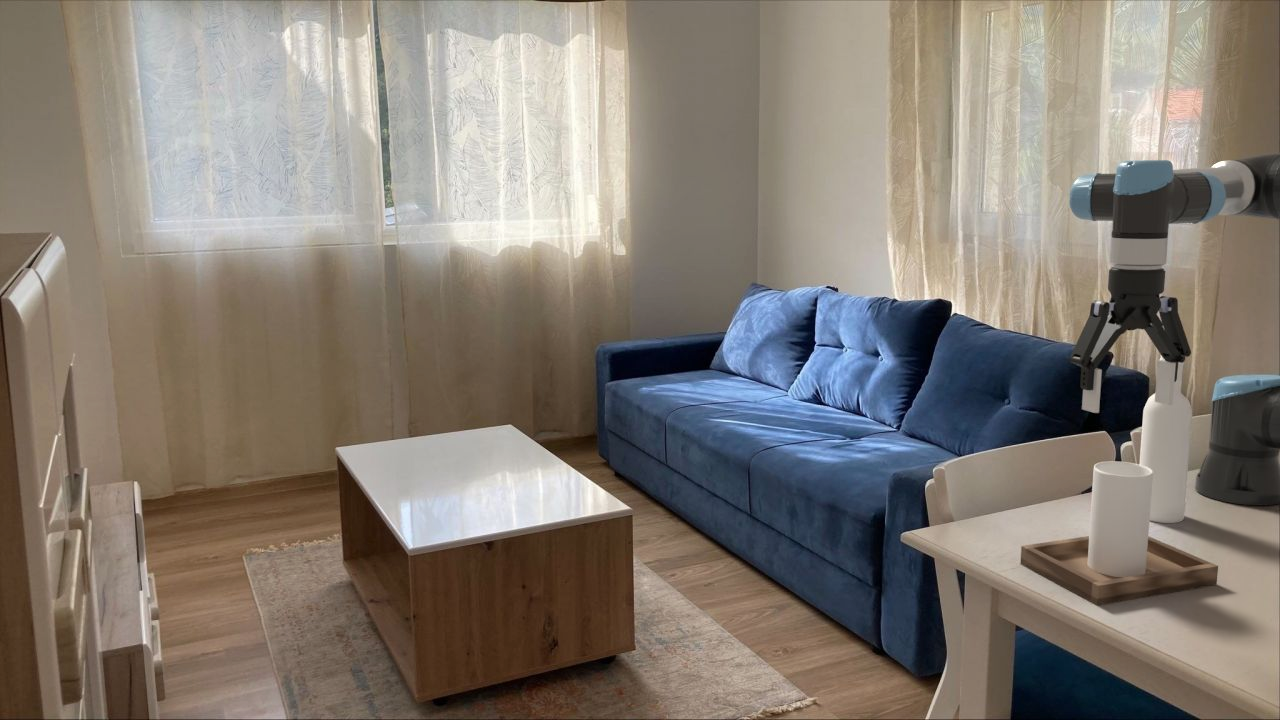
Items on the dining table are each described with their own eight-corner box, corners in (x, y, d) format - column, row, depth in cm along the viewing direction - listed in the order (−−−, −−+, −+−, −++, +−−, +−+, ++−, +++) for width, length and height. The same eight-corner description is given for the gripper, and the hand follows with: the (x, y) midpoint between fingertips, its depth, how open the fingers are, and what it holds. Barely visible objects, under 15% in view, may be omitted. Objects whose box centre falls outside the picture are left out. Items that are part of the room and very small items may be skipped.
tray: (1131, 546, 170) (1132, 529, 169) (1216, 584, 154) (1218, 565, 153) (1020, 563, 163) (1021, 545, 163) (1097, 605, 147) (1098, 585, 147)
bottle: (1194, 522, 181) (1208, 356, 176) (1153, 525, 180) (1166, 358, 175) (1165, 507, 189) (1177, 348, 183) (1126, 510, 188) (1137, 350, 182)
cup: (1152, 579, 154) (1160, 477, 151) (1094, 576, 155) (1100, 475, 153) (1137, 559, 162) (1144, 462, 159) (1082, 556, 163) (1088, 460, 160)
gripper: (1184, 261, 157) (1173, 395, 161) (1049, 268, 150) (1041, 408, 154) (1225, 264, 150) (1213, 405, 154) (1085, 272, 143) (1076, 419, 147)
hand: (1127, 407), depth 154 cm, fingers open, 13 cm apart
